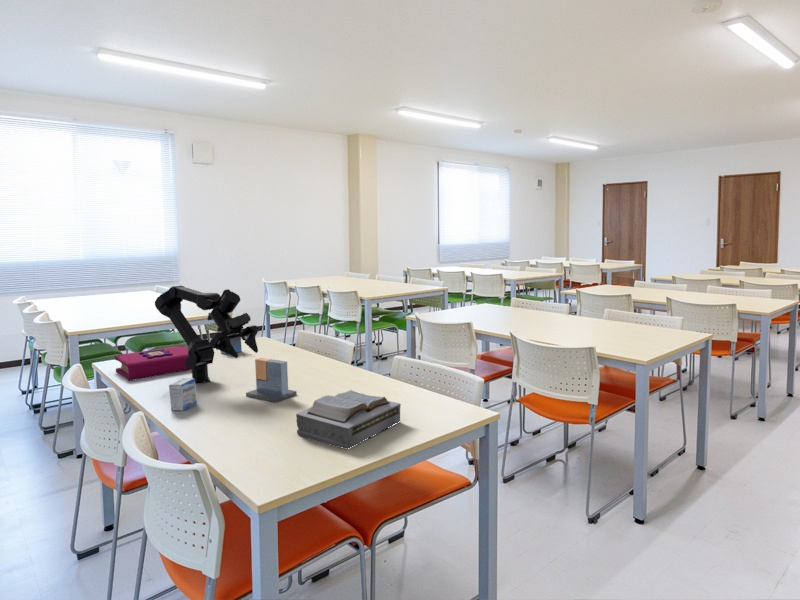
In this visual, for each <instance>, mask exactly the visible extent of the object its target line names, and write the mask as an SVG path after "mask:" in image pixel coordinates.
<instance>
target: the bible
mask: <svg viewBox="0 0 800 600" xmlns="http://www.w3.org/2000/svg"><path fill="white" fill-rule="evenodd" d="M401 405H402V403H400V402H395V401H390V400H388V399H387V398H386V397H385V396H377V395H376V396H375V395H370V394H369V395H368V394H364V393H361V392H357V391H355V390H352V389H350V390H347V391H345V392H340V393H338V394H336V395H335V396H334V395H324V396H321V397H319V398H317V399H315V400H314V401H313V404H312V406H311V407H308V408H307V409H304V410H301V411H299V412H297V413H296V414H295V415H296V426H297V430H296V434H297V435H298V436H299V435H300V436H299V437H302V436H303V437H302V438H305V437H306V439H308V438H310V439H309V440H312V439H313V440H312V441H315V440H316V442H319V441H320V443H322V442H323V444H326V445H329V444H331V445H330V446H333V445H335V446H334V447H336V446H339V447H338V448H340V447H343V448H347V449H348V448H350V447H352V446H354V445H356V444H358V443H360V442H362V441H363V440H365V439H367V438H368V439H369V438H372V437H371V436H373V435H375V434H377V433H378V434H380V433H379V432H381V433H382V431H383V430H385V429H386V428H388V427H390V426H392V425H393V424H395V423H398V422H399V421H400V422H401ZM386 430H387V429H386ZM378 434H377V435H378ZM362 443H363V442H362ZM360 444H361V443H360ZM358 445H359V444H358ZM343 448H342V449H343ZM347 449H346V450H347Z"/></svg>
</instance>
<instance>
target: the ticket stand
mask: <svg viewBox="0 0 800 600" xmlns="http://www.w3.org/2000/svg"><path fill="white" fill-rule="evenodd" d="M267 379H268V381H262V380H257V379H255V383H256V384H255V385H256V389H253V390H250V391H248V392H245V397H249V398H253V399H257V400H262V401H267V402H271V403H279V402H281V401H284V400H286V399H289V398H291V397H294V396H296V395H297V394H298V393H297V391H296V390H293V389H289V377H288V361H287V360H286V361H284V360H279V359H272V360H269V361H267Z"/></svg>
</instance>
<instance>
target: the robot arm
mask: <svg viewBox="0 0 800 600" xmlns="http://www.w3.org/2000/svg"><path fill="white" fill-rule="evenodd" d="M183 300H184V301H187V302H190V303H193V304H195V305H196V306H197V308H199V309H201V310H202V311H210V310H211V311H210V312H208V316H207V321H213V322H214V323H215V325H216V326H217V327H218V328H217V329H216V331H217V332H215V333H214V335H213V336H212V338H211V339H210V340H209V339H208V338H204V339H202V338H200V337H199V335H198V333H196V331H195V329H194V328H193V326H192V325H191V323H190V321H188V319H187V318H186V317H185V315H184V313H183V312H182V302H183ZM240 302H241V297H240V295H239V294H237V293H236V292H235V291H234V292H233V291H231V290H230V289H228V288H227V289H224V290H223V291H222V294H221V295H220V294H219V293H217V292H202V291H198V290H195V289H192V288H189V287H185V286H184V285H173V286H171V287H170V288H169V289H168V290H167V291H164V292H163V293H161V294H160V295H159V296H158V297H157V298H156V299H155V301H154V306H155V308H156V310H158V312H159V313H160V314H161V315H162V316H163V317H167V318H168V319H170V321H171V323H172V324H173V326H174V327H175V329H176V330H177V332H178V333H179V334H180V336H181V338H182V339H183V341H184V342H185V343H186V345H187V347H188V354H189V356H188V358H187V359H186V360H185V364H186V367H191V368H192V370H191V378H194V379H195V384H199V383H200V384H201V383H209V382H211V379H210V377H209V368H208V367H209V365H210V364H213V361H214V358H215V350H217V351H218V350H219V351H223V352H225V353H227V354H226V355H229V356H231V357H233V358H235V359H238V358H239V354H238V352H236V351H235V349H234V348H233V346H232V345H231V343H230V340H233V339H237V338H241V340H243V341H244V344H245V345H246V346H248V347H249V348H250V349H251V351H253V352H254V353H256V354H257V353H258V352H259V348H258V343H257V341H256V340H257V339H256V335H258V332H259V331H260V329H259V328H258V326H257V325H256V324H255V325H254V324H253V325H249V326H246V327H245V328H244V326H245V325H248V324H249V323H250V322H251V316H250V315H249V314H248V313H247V312H246V313H245V312H243V314H241V315H236V316H234V317H232V316H231V315H230V314H231V313H233V312H234V310H235V309H236V308H237V306H238V304H239V303H240ZM243 329H244V330H243ZM241 330H243V331H241Z"/></svg>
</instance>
